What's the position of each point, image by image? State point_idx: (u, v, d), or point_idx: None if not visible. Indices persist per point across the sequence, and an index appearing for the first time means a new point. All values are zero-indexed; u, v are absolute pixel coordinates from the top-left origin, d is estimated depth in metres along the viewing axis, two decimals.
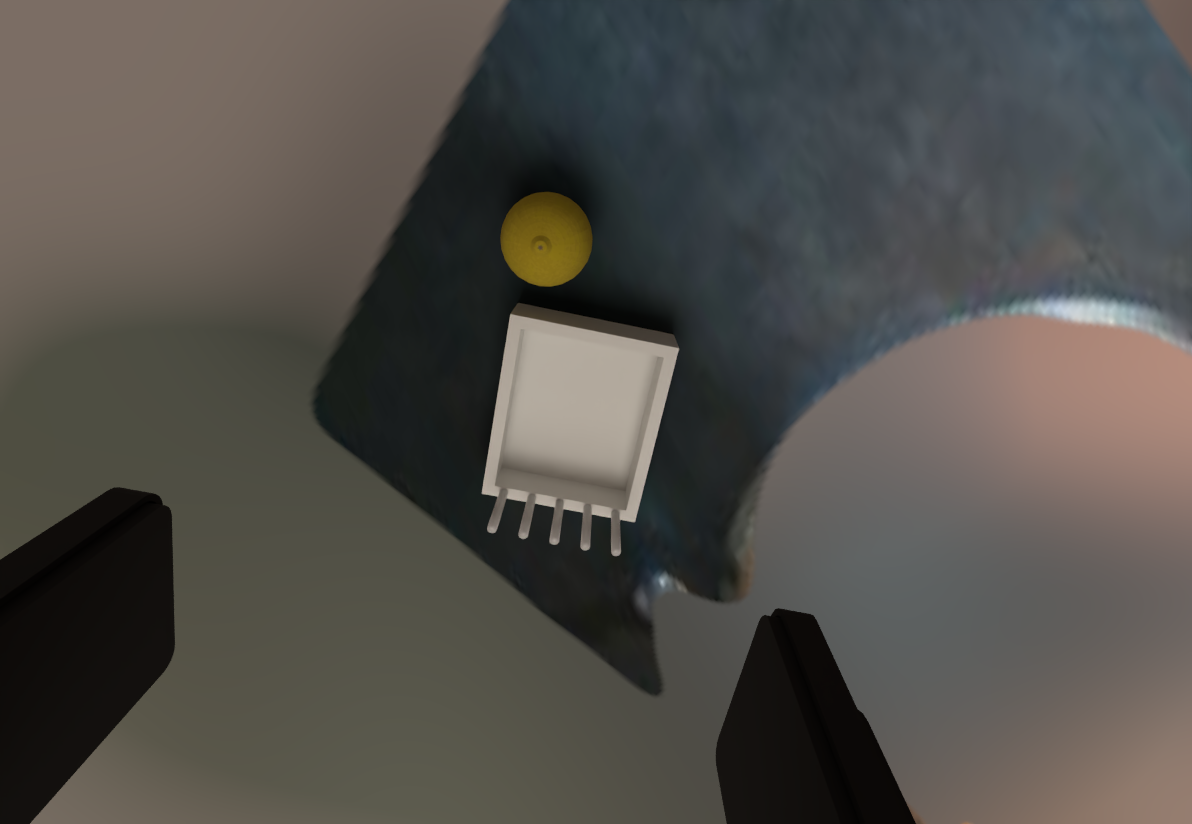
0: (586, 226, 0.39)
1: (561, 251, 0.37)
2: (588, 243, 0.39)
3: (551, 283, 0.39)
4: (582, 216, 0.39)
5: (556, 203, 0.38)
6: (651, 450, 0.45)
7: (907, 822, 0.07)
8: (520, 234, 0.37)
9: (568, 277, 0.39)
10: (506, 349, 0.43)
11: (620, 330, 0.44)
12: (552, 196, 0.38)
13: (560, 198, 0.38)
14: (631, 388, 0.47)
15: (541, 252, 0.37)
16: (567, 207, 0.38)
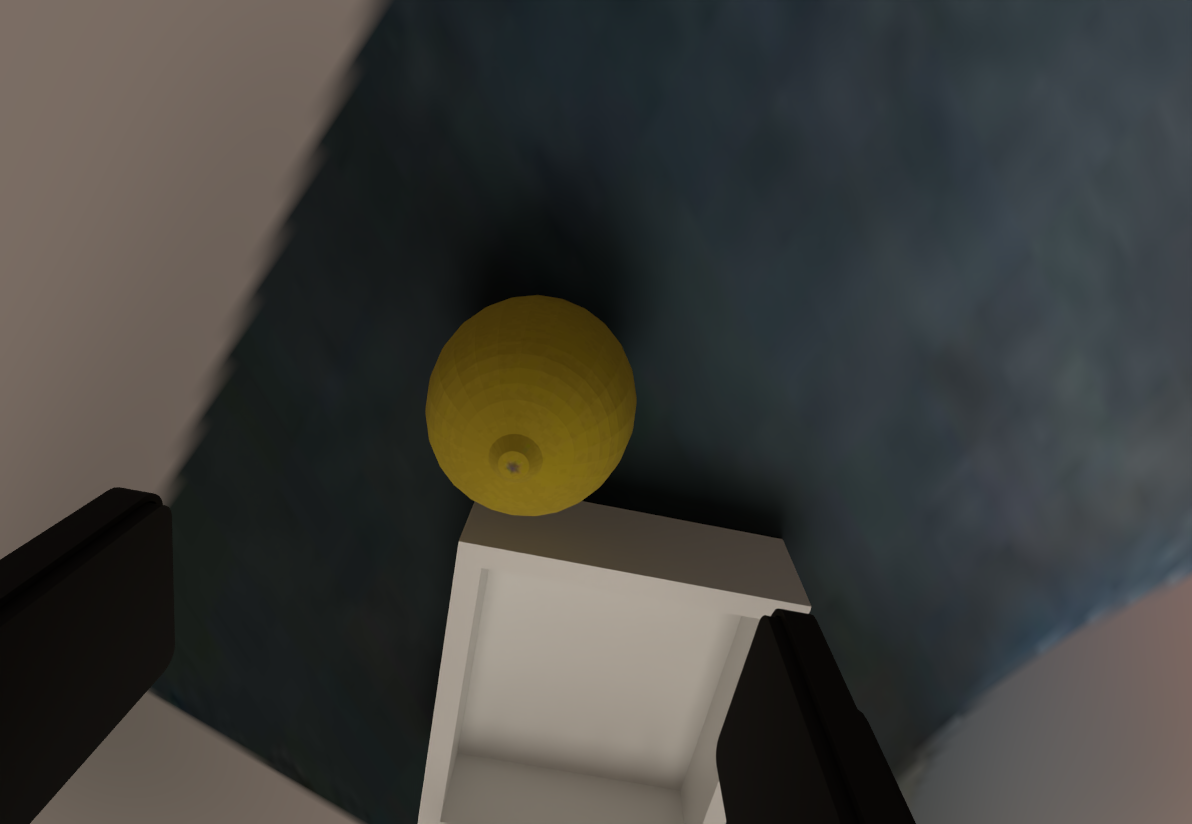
0: (625, 385, 0.16)
1: (565, 466, 0.15)
2: (629, 423, 0.17)
3: (543, 513, 0.17)
4: (616, 362, 0.16)
5: (555, 343, 0.15)
6: None
7: (907, 822, 0.07)
8: (464, 426, 0.15)
9: (583, 499, 0.17)
10: (453, 604, 0.21)
11: (685, 553, 0.22)
12: (545, 319, 0.16)
13: (564, 323, 0.16)
14: (699, 635, 0.25)
15: (516, 476, 0.14)
16: (582, 348, 0.16)
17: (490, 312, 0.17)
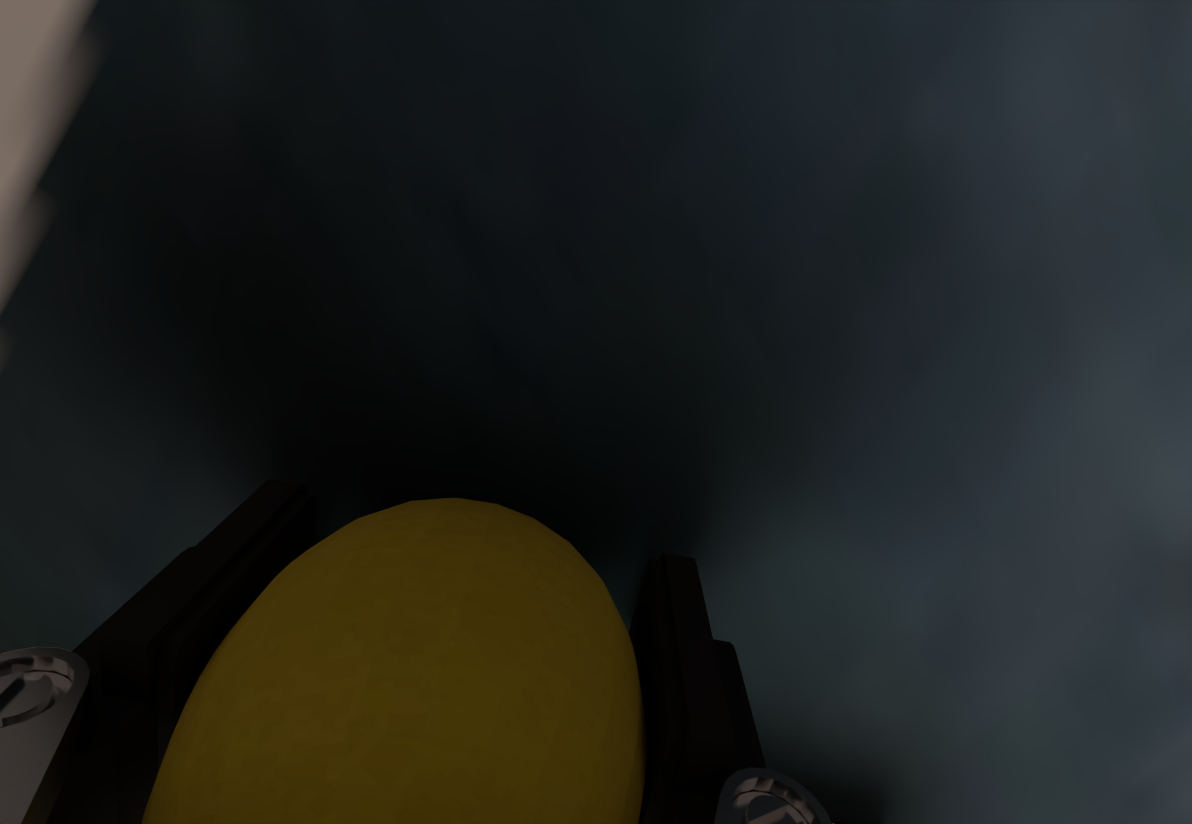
0: (624, 761, 0.07)
1: None
2: None
3: None
4: (602, 711, 0.07)
5: (440, 727, 0.06)
6: None
7: (729, 719, 0.08)
8: None
9: None
10: None
11: None
12: (427, 631, 0.06)
13: (475, 635, 0.07)
14: None
15: None
16: (513, 724, 0.06)
17: (311, 587, 0.07)
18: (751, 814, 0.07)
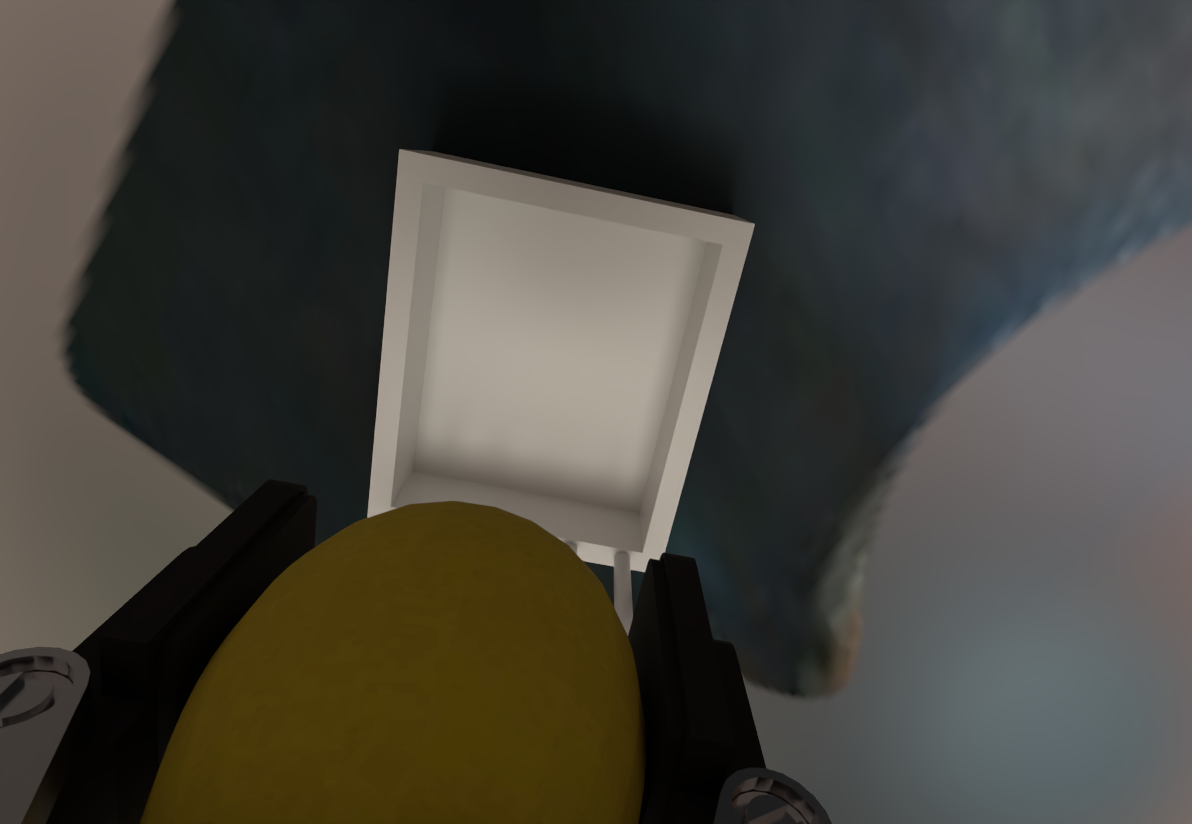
0: (623, 766, 0.07)
1: None
2: None
3: None
4: (601, 716, 0.07)
5: (439, 733, 0.06)
6: (692, 438, 0.23)
7: (729, 718, 0.08)
8: None
9: None
10: (396, 229, 0.21)
11: (631, 195, 0.22)
12: (425, 636, 0.06)
13: (474, 640, 0.07)
14: (651, 321, 0.25)
15: None
16: (513, 730, 0.06)
17: (309, 591, 0.07)
18: (751, 814, 0.07)
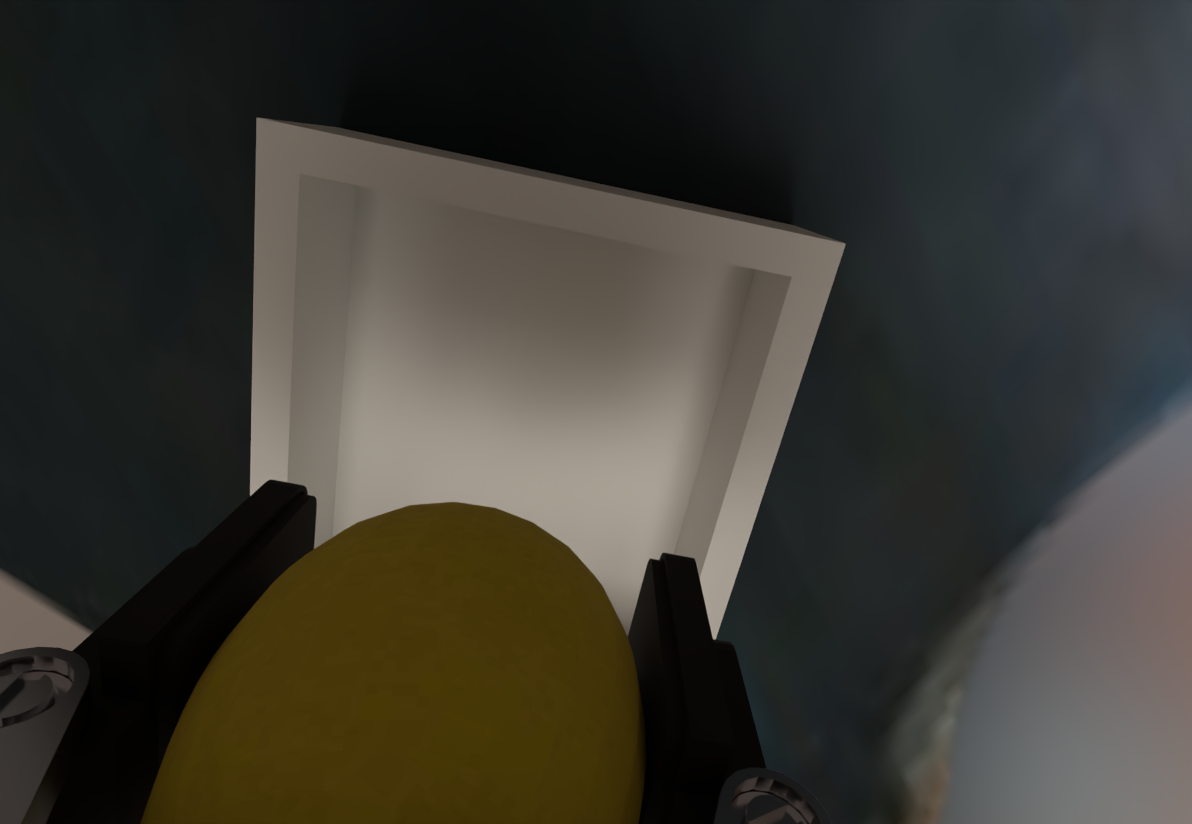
0: (623, 767, 0.07)
1: None
2: None
3: None
4: (601, 717, 0.07)
5: (438, 735, 0.06)
6: (734, 567, 0.15)
7: (728, 719, 0.08)
8: None
9: None
10: (260, 249, 0.13)
11: (643, 196, 0.14)
12: (425, 638, 0.06)
13: (474, 642, 0.07)
14: (670, 381, 0.17)
15: None
16: (512, 731, 0.06)
17: (309, 592, 0.07)
18: (751, 814, 0.07)
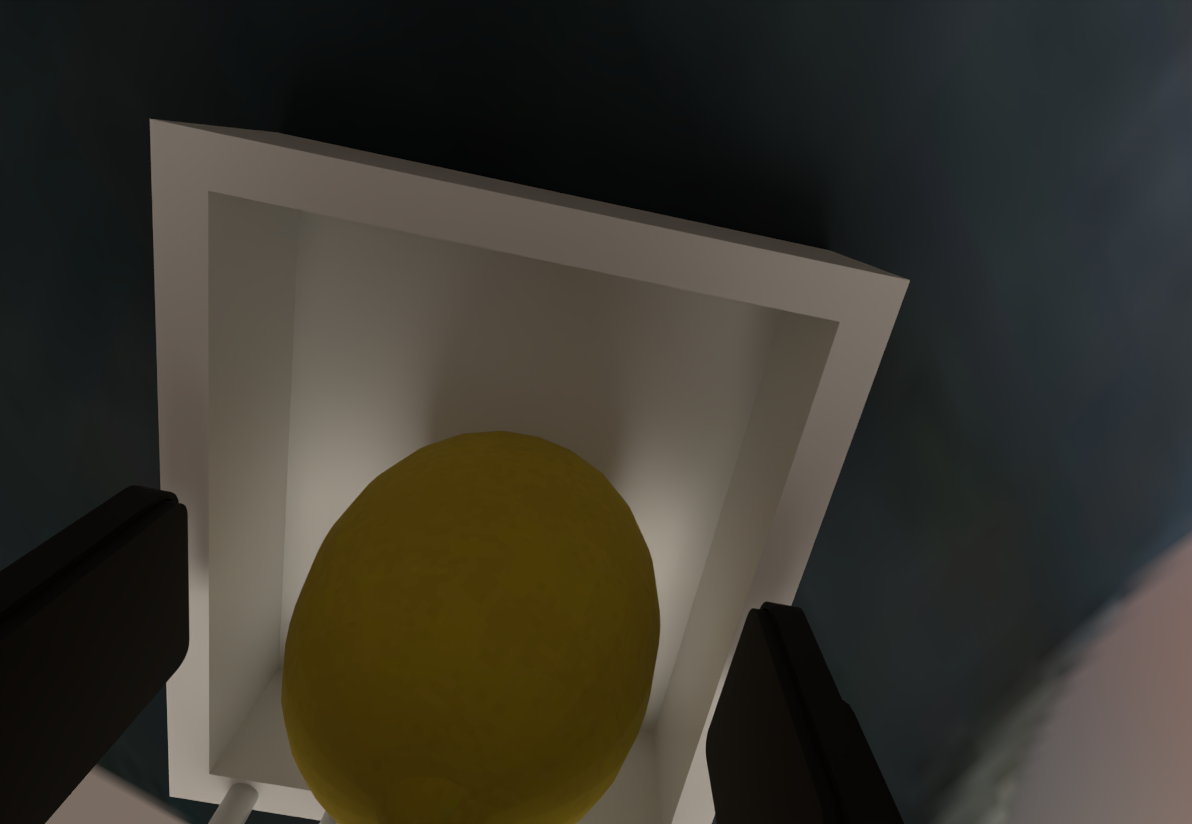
0: (645, 616, 0.09)
1: (531, 818, 0.08)
2: (651, 680, 0.09)
3: None
4: (628, 576, 0.09)
5: (515, 567, 0.08)
6: None
7: (887, 808, 0.07)
8: (330, 746, 0.07)
9: None
10: (162, 287, 0.10)
11: (649, 218, 0.11)
12: (499, 507, 0.09)
13: (535, 513, 0.09)
14: (680, 436, 0.14)
15: None
16: (566, 571, 0.08)
17: (405, 482, 0.09)
18: None
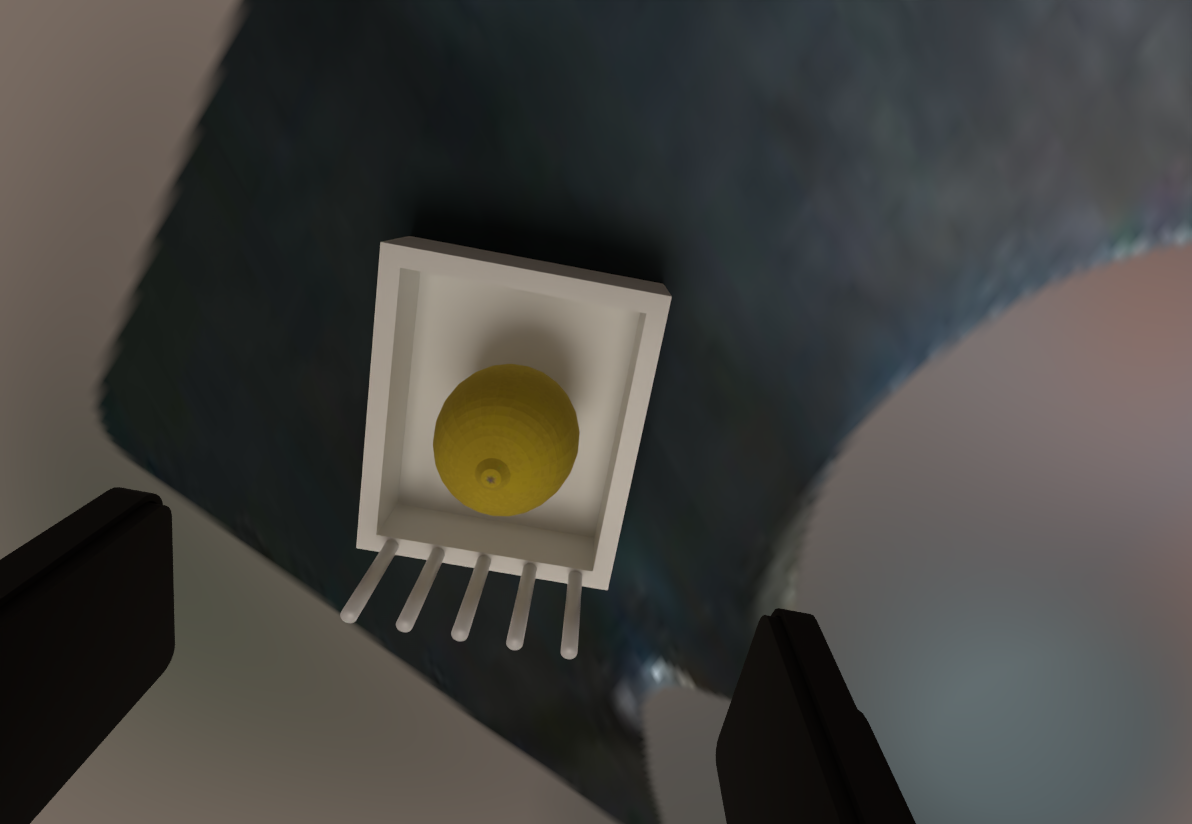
0: (568, 425, 0.24)
1: (525, 479, 0.23)
2: (572, 451, 0.24)
3: None
4: (562, 410, 0.24)
5: (519, 398, 0.23)
6: (630, 472, 0.27)
7: (907, 822, 0.07)
8: (458, 453, 0.22)
9: (541, 504, 0.25)
10: (378, 304, 0.25)
11: (573, 272, 0.26)
12: (513, 382, 0.24)
13: (526, 384, 0.24)
14: (597, 373, 0.29)
15: (493, 486, 0.22)
16: (537, 402, 0.23)
17: (476, 377, 0.24)
18: None
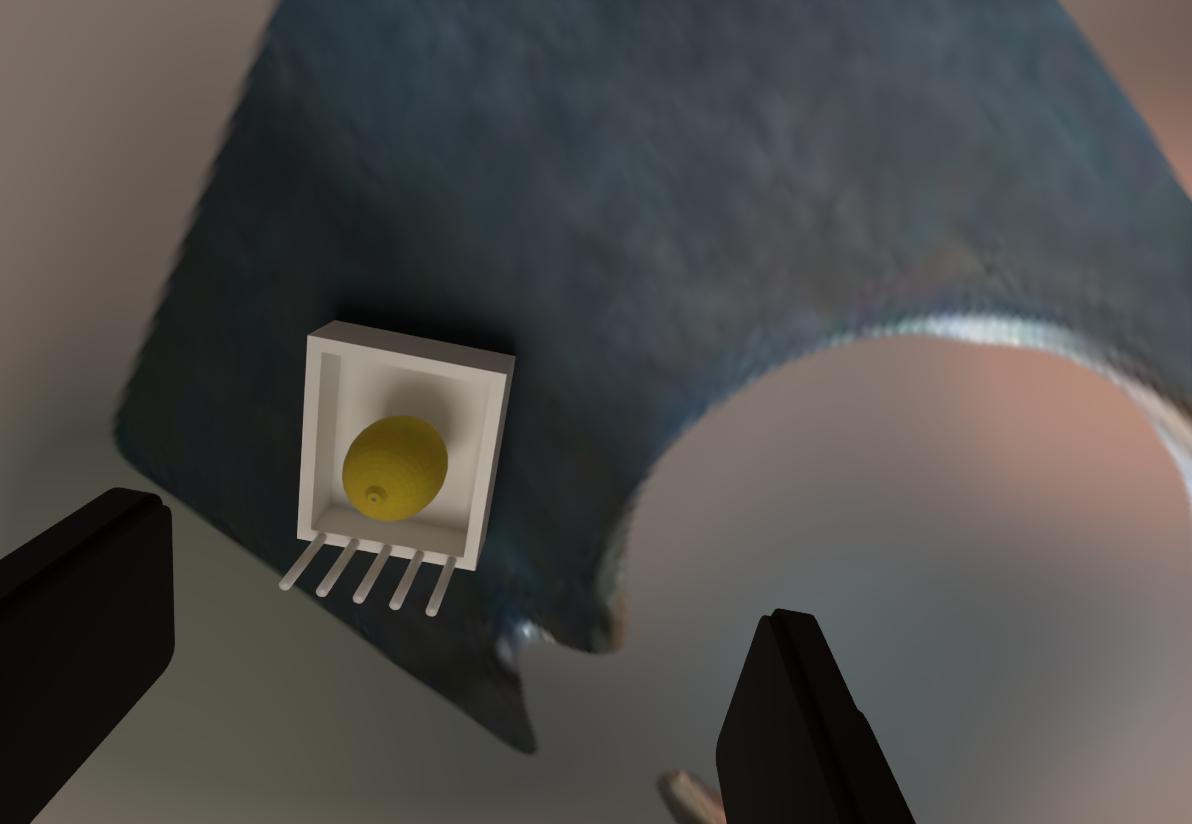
0: (433, 461, 0.36)
1: (399, 498, 0.35)
2: (436, 478, 0.36)
3: None
4: (429, 451, 0.36)
5: (396, 445, 0.35)
6: (486, 490, 0.39)
7: (907, 822, 0.07)
8: (354, 482, 0.34)
9: (415, 513, 0.37)
10: (307, 375, 0.37)
11: (445, 353, 0.38)
12: (394, 433, 0.36)
13: (403, 434, 0.36)
14: (469, 417, 0.41)
15: (375, 503, 0.34)
16: (409, 447, 0.35)
17: (372, 427, 0.36)
18: None
